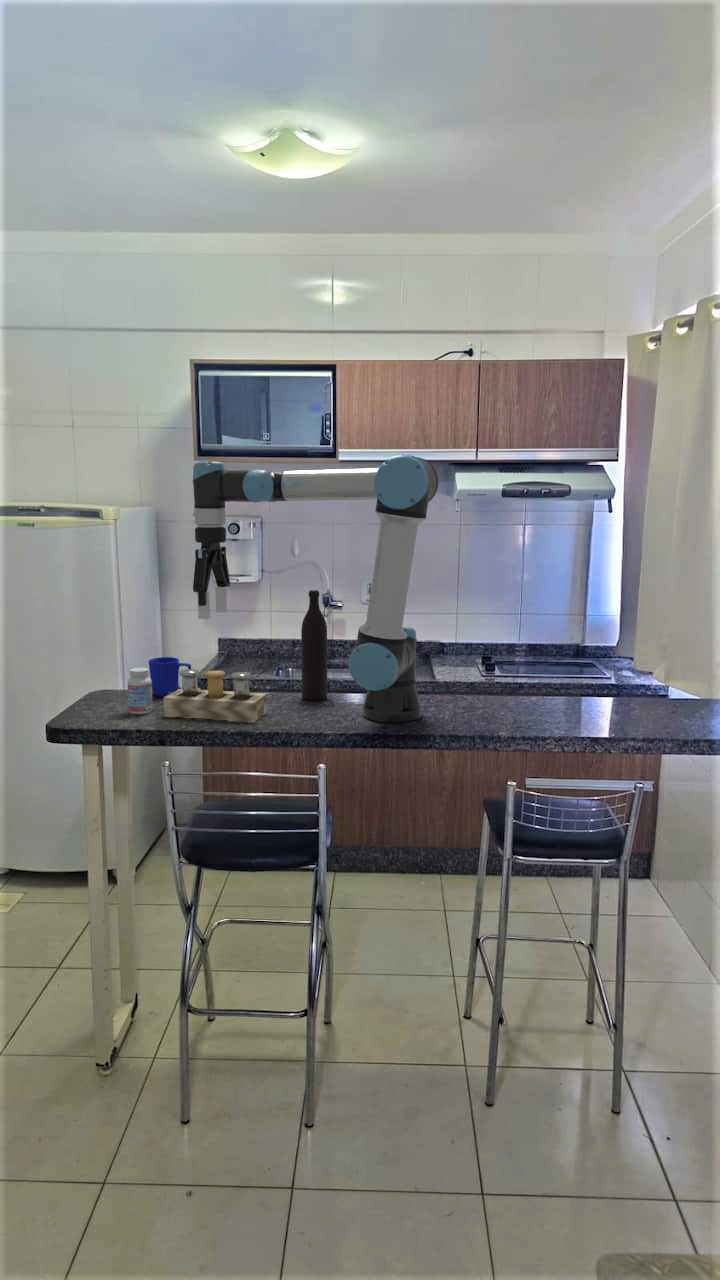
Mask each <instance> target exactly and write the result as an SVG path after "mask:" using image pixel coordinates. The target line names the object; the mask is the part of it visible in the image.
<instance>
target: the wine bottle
mask: <svg viewBox="0 0 720 1280" xmlns="http://www.w3.org/2000/svg"><path fill="white" fill-rule="evenodd" d="M319 597H320V591H319V590H317V589H316V590H315V589H312V590H309V591H308V598H309V605H308V610H307V611H306V613H305V616H304V618H303V620H302V623H301V638H300V639H301V697H302V699H303V700H305V701H309V702H319V701H323V700H326V699H327V698H328V625H327V622H326V619H325V616H324V615H323V613H322V611H321V609H320V602H319Z"/></svg>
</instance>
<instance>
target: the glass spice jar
mask: <svg viewBox="0 0 720 1280" xmlns="http://www.w3.org/2000/svg"><path fill="white" fill-rule="evenodd" d="M251 675H252V674H251V673H250V672H248V671H237V672H233V673H231V675H230V676H231V679H233V692H234V699H237V700H248V699H249V693H250V678H251V677H252V676H251Z"/></svg>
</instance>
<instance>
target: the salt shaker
mask: <svg viewBox="0 0 720 1280" xmlns="http://www.w3.org/2000/svg"><path fill="white" fill-rule="evenodd" d="M199 675H200V670H199V669H196V668H195V669H194V668H191V669H188V668H187V669H182V670H179V676H181V683H182V684H181V685H182V687H181V688H182V691H183V696H189V697H196V696H198V676H199Z"/></svg>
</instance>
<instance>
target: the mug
mask: <svg viewBox="0 0 720 1280" xmlns="http://www.w3.org/2000/svg"><path fill="white" fill-rule="evenodd" d="M148 666H149V667H148V670H149V675H150V676H149V678H150V679H151V681H152V695H154V696H156V697H161V698H164V697H165V696H167V695H169V694H171V693H168V692H175V691H177V690H178V689H180V688H181V687H180V685H179V676H180V667H186V668H187V669H192V664H190V663H185V662H180V659H179V658H177V657H173V656H172V657H171V656H170V657H168V656H163V657H161V656H160V657H155V658H151V659H149V660H148Z"/></svg>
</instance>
